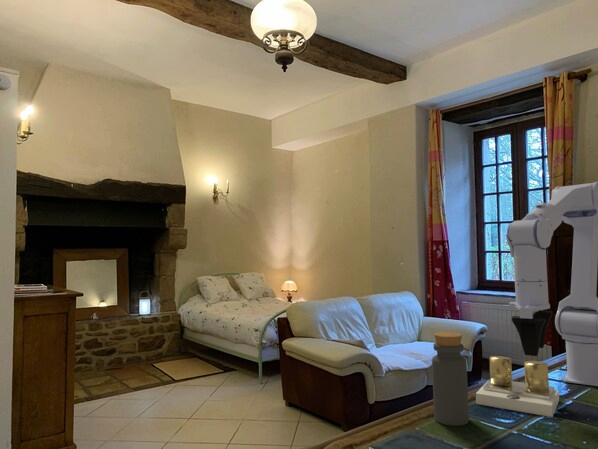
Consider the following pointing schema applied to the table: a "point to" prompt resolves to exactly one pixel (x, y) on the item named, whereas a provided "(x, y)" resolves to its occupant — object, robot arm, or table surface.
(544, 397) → the scale pan
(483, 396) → the scale
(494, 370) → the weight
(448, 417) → the bottle
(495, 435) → the table surface
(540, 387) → the cylinder
